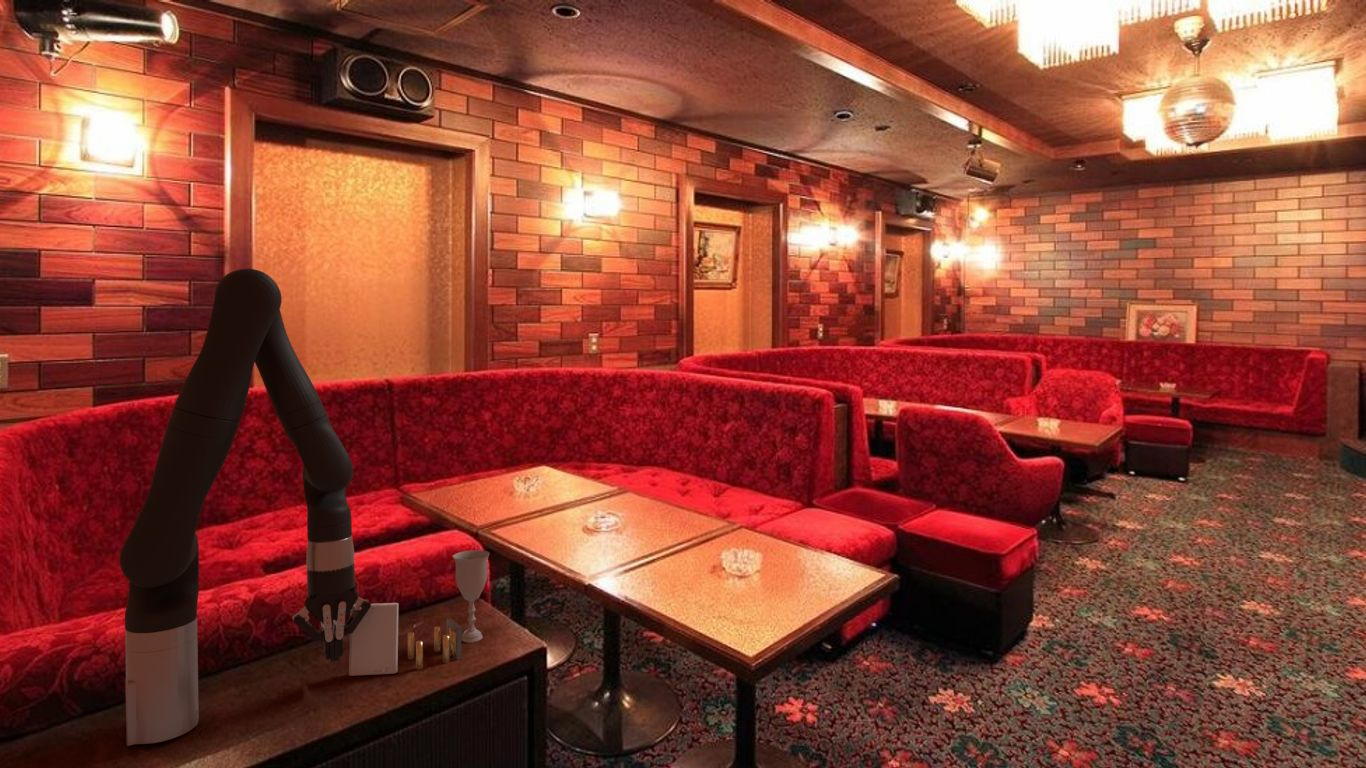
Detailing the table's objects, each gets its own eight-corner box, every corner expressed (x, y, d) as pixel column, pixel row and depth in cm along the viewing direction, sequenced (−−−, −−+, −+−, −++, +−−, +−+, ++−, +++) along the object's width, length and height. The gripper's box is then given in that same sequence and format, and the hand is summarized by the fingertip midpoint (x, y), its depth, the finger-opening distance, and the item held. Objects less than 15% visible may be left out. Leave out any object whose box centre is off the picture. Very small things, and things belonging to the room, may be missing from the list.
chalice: (480, 633, 151) (480, 548, 150) (496, 642, 146) (496, 555, 145) (447, 642, 146) (446, 554, 145) (462, 652, 141) (461, 561, 140)
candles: (417, 670, 132) (417, 637, 132) (406, 658, 137) (406, 626, 137) (462, 658, 138) (462, 627, 137) (451, 648, 143) (451, 617, 142)
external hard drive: (395, 673, 130) (396, 604, 131) (348, 676, 129) (349, 606, 130) (397, 670, 132) (399, 602, 133) (351, 673, 131) (352, 604, 132)
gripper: (291, 575, 119) (295, 677, 119) (375, 560, 127) (378, 657, 127) (284, 564, 125) (288, 662, 126) (365, 551, 133) (368, 643, 133)
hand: (333, 659), depth 126 cm, fingers closed
